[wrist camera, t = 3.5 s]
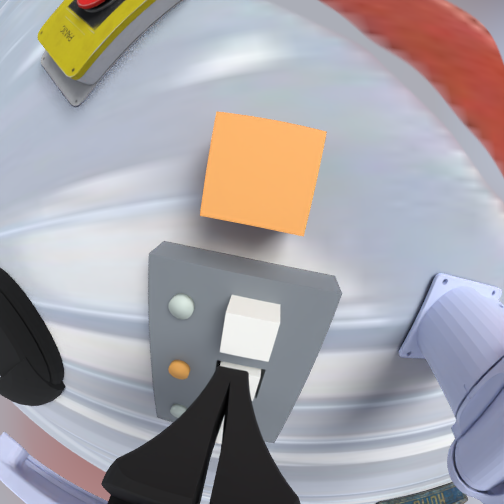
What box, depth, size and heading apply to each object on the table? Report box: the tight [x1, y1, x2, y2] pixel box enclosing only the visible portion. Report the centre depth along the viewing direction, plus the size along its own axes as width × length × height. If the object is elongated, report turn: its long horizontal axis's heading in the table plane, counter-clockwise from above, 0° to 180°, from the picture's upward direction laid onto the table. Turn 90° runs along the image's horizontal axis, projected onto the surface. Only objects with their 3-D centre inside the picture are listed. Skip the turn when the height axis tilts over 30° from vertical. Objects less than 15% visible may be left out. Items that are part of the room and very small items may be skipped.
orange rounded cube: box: [200, 112, 327, 236], centre depth 14 cm, size 5×5×4 cm
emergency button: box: [38, 0, 183, 106], centre depth 11 cm, size 9×4×15 cm
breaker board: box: [148, 241, 342, 444], centre depth 19 cm, size 12×18×4 cm, turn 170°
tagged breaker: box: [220, 361, 261, 401], centre depth 20 cm, size 3×3×3 cm
